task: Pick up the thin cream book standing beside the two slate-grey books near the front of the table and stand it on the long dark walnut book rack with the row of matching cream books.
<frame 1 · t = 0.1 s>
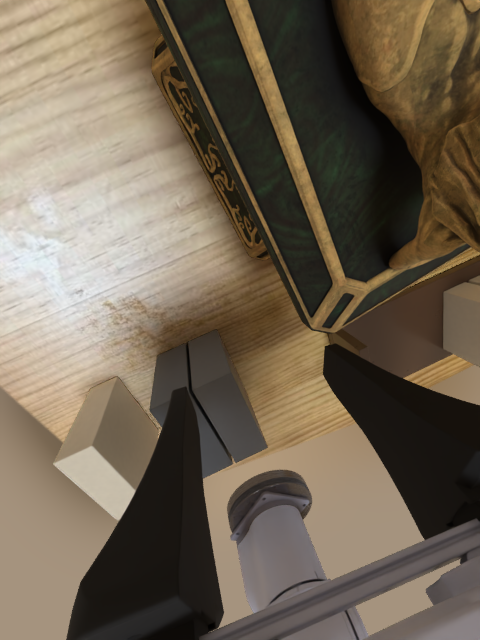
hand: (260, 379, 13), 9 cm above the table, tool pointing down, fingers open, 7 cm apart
book rack: (412, 329, 26), on the table
cream book: (126, 410, 22), on the table
decorative box: (248, 119, 16), on the table
grey books: (209, 399, 20), on the table
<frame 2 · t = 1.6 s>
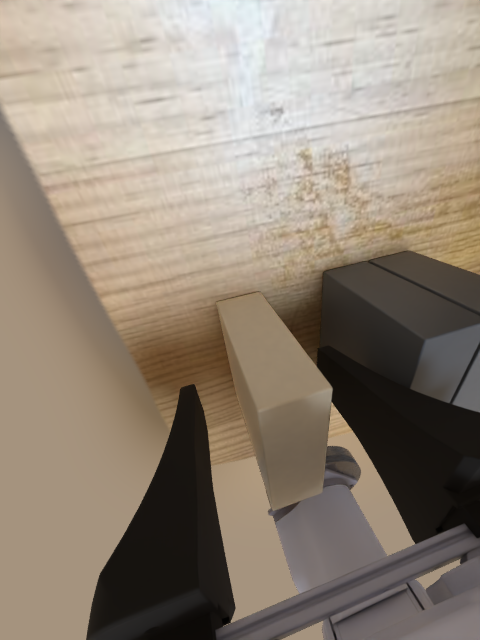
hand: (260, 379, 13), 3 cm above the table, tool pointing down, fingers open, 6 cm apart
cream book: (246, 347, 15), on the table
grey books: (398, 347, 13), on the table
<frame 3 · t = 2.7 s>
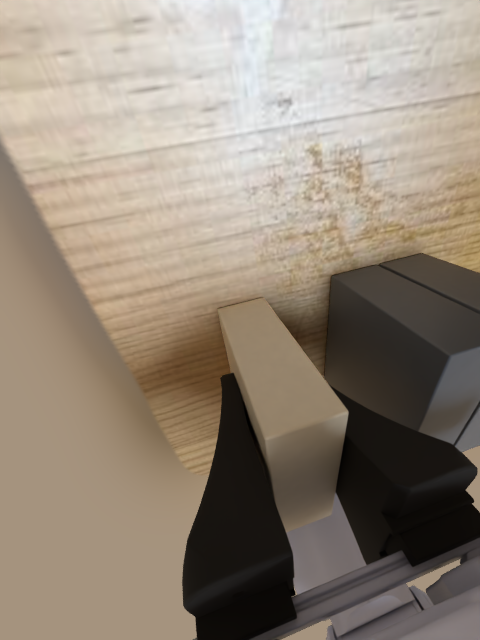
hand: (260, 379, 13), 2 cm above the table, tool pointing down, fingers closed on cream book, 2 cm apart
cream book: (248, 355, 14), on the table, touching gripper
grey books: (411, 356, 13), on the table
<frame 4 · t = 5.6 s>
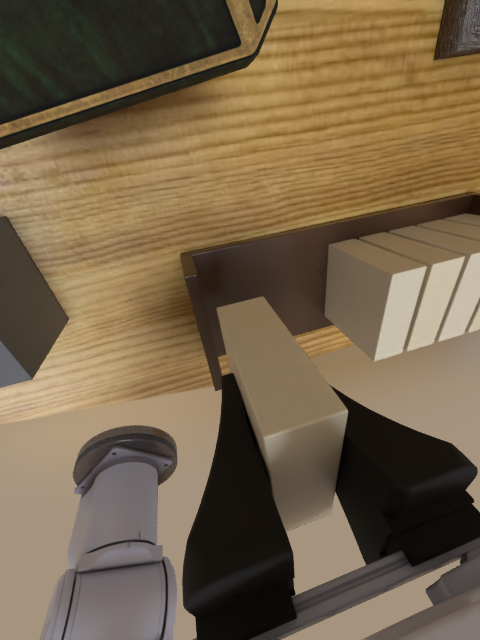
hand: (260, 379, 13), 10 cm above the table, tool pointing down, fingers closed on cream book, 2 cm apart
book rack: (293, 286, 23), on the table
cream books: (424, 280, 21), point 4 cm above the table
cream book: (248, 355, 14), point 9 cm above the table, touching gripper
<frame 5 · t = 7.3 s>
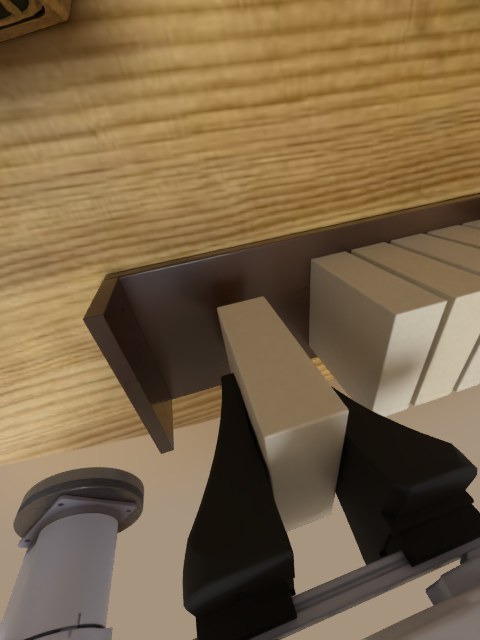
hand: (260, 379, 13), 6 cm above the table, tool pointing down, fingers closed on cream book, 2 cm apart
book rack: (267, 311, 18), on the table
cream books: (437, 307, 16), point 4 cm above the table
cream book: (248, 354, 14), point 4 cm above the table, touching gripper
when the fingers open (3 cm above the table, at t = 8.5 s): cream book stays where it is, resting on book rack.
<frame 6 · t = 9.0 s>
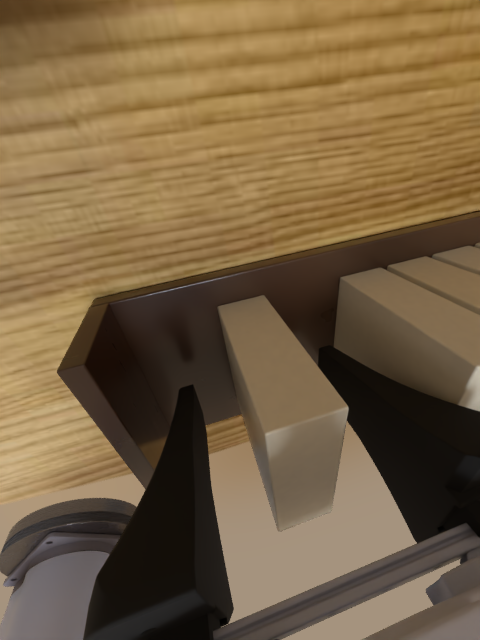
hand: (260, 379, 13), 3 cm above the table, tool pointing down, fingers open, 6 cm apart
book rack: (285, 335, 15), on the table
cream book: (249, 353, 14), point 1 cm above the table, touching book rack
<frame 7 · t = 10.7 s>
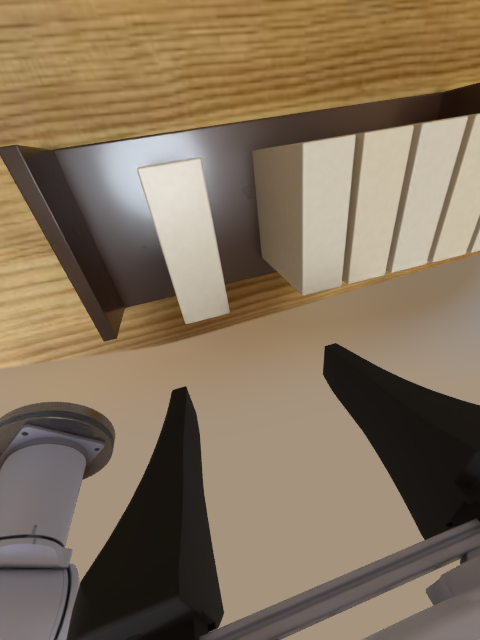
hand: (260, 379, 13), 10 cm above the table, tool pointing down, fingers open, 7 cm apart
book rack: (216, 215, 18), on the table
cream books: (377, 197, 16), point 4 cm above the table
cream book: (182, 223, 17), point 1 cm above the table, touching book rack
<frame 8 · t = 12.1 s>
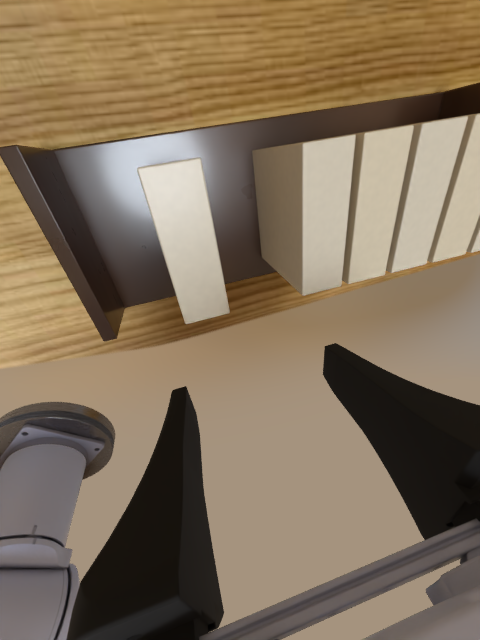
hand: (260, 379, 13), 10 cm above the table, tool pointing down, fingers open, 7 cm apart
book rack: (216, 215, 18), on the table
cream books: (377, 197, 16), point 4 cm above the table
cream book: (182, 223, 17), point 1 cm above the table, touching book rack
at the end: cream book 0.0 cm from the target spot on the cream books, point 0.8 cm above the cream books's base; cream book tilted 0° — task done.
